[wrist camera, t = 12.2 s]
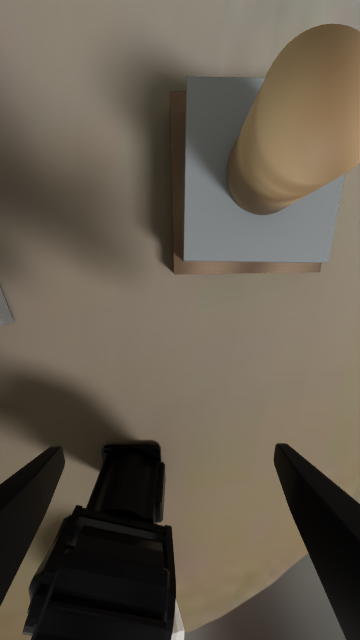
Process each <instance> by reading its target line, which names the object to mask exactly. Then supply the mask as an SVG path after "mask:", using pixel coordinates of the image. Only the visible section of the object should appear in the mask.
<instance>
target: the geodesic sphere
mask: <svg viewBox="0 0 360 640" xmlns="http://www.w3.org/2000/svg"><path fill="white" fill-rule="evenodd" d="M171 640H184V627H183V623H182V620H181V616H180V612H179V609H178V605H177V601H176V602H175V616H174V625H173V632H172V637H171Z"/></svg>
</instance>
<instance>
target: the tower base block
mask: <svg viewBox="0 0 360 640" xmlns="http://www.w3.org/2000/svg"><path fill="white" fill-rule="evenodd" d="M170 117H171V162H172V207H173V252H174V274H226V273H290V272H320V270H321V263H268V262H196V261H183V247H184V188H185V128H186V91H170Z"/></svg>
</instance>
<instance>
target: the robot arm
mask: <svg viewBox="0 0 360 640" xmlns="http://www.w3.org/2000/svg"><path fill="white" fill-rule="evenodd" d="M155 449H157V450H155ZM102 457H103V465H102V468H101V471H100V473H99V476H98V478H97V481H96V484H95V486H94V489H93V491H92V494H91V497H90V499H89V502H88V505H87V507H86V508H82V507H83V506H79V505H76V507H75V509H74V511H73V513H72V515H69V517H67V518H64V521H63V523H62V525H61V527H60V529H59V532H58V534H57V536H56V538H55V540H54V542H53V544H52V546H51V548H50V549H49V551H48V553H47V555H46V556H45V558H44V560H43V561H42V563H41V565H40V567H39V568H38V570H37V572H36V573H35V575H34V577H33V579H32V581H31V584H30V586H29V595H30V605H29V608H28V612H27V613H29V614H28V617H27V619H26V622H25V625H24V629H23V634H24V635H30V636H32V635H33V636H32V638H31V640H171V637H172V632H173V625H174V616H175V602H176V578H175V565H174V552H173V539H172V527H171V526H168V525H165V526H162V525H157V522H161V521H162V520H163V511H164V495H165V464H164V463H163V462H161V447H160V446H159V445H105V446H104V447H103V449H102ZM274 465H275V468H276V471H277V474H278V477H279V480H280V483H281V486H282V488H283V491H284V494H285V497H286V500H287V503H288V506H289V509H290V511H291V514H292V516H293V518H294V521H295V523H296V525H297V528H298V530H299V532H300V535H301V537H302V539H303V541H304V544H305V546H306V548H307V551H308V553H309V555H310V558H311V560H312V562H313V564H314V567H315V569H316V571H317V574H318V576H319V578H320V580H321V583H322V585H323V587H324V590H325V592H326V594H327V597H328V599H329V601H330V603H331V606H332V608H333V610H334V613H335V615H336V617H337V620H338V622H339V624H340V626H341V629H342V631H343V633H344V636H345V638H346V640H360V504H359V503H358V502H357V501H356V500H354V499H353V498H352V497H351V496H350V495H348V494H347V493H346V492H345V491H343V490H342V489H341V488H340V487H339V486H337V485H336V484H335V483H334V482H333V481H331V480H330V479H329V478H328V477H327V476H325V475H324V474H323V473H322V472H320V471H319V470H318V469H317V468H316V467H314V466H313V465H312V464H311V463H310V462H308V461H307V460H306V459H305V458H303V457H302V456H301V455H300V454H299V453H297V452H296V451H295V450H294V449H293V448H291V447H290V446H289V445H288V444H285V443H278V444H276V446H275V453H274ZM64 466H65V459H64V453H63V448H62V447H61V446H51V447H49V448H48V449H47V450H45V451H44V452H43V453H41V454H40V455H39V456H37V457H36V458H35V459H33V460H32V461H31V462H29V463H28V464H27V465H25V466H24V467H23V468H21V469H20V470H19V471H17V472H16V473H15V474H13V475H12V476H11V477H9V478H8V479H7V480H5V481H4V482H3V483H1V484H0V606H1V604H2V602H3V600H4V597H5V595H6V593H7V591H8V589H9V587H10V585H11V583H12V581H13V579H14V577H15V575H16V573H17V571H18V569H19V567H20V565H21V563H22V561H23V559H24V557H25V555H26V553H27V551H28V549H29V547H30V545H31V542H32V540H33V538H34V536H35V534H36V532H37V530H38V528H39V526H40V524H41V522H42V520H43V518H44V516H45V514H46V511H47V509H48V507H49V504H50V502H51V499H52V497H53V494H54V492H55V489H56V487H57V484H58V482H59V479H60V476H61V474H62V471H63V469H64Z"/></svg>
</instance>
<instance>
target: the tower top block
mask: <svg viewBox="0 0 360 640" xmlns="http://www.w3.org/2000/svg"><path fill="white" fill-rule="evenodd" d="M264 80H265V78H237V77H187V91H186V128H185V188H184V247H183V261H196V262H268V263H324V262H329V256H330V251H331V246H332V241H333V235H334V230H335V225H336V219H337V214H338V209H339V203H340V198H341V193H342V188H343V182H344V177H345V174H344V175H342V176H340V177H338V178H337V179H335V180H333V181H331V182H330V183H328V184H326V185H324V186H323V187H321V188H319V189H317V190H316V191H314V192H312V193H310V194H308V195H307V196H305V197H303V198H301V199H300V200H298V201H296V202H294V203H293V204H291V205H289V206H287V207H286V208H284V209H282V210H280V211H278V212H276V213H273V214H269V215H256V214H252V213H250V212H248V211H245V210H244V209H243V208H241V207H240V206H239V205H238V204H237V203H236V202H235V200H234V199H233V197H232V196H231V193H230V191H229V188H228V185H227V179H226V167H227V161H228V158H229V154H230V152H231V150H232V147H233V145H234V143H235V141H236V139H237V137H238V135H239V133H240V131H241V128H242V126H243V124H244V122H245V120H246V118H247V116H248V114H249V111H250V109H251V107H252V105H253V103H254V101H255V99H256V97H257V94H258V92H259V90H260V88H261V86H262V84H263V82H264Z"/></svg>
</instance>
